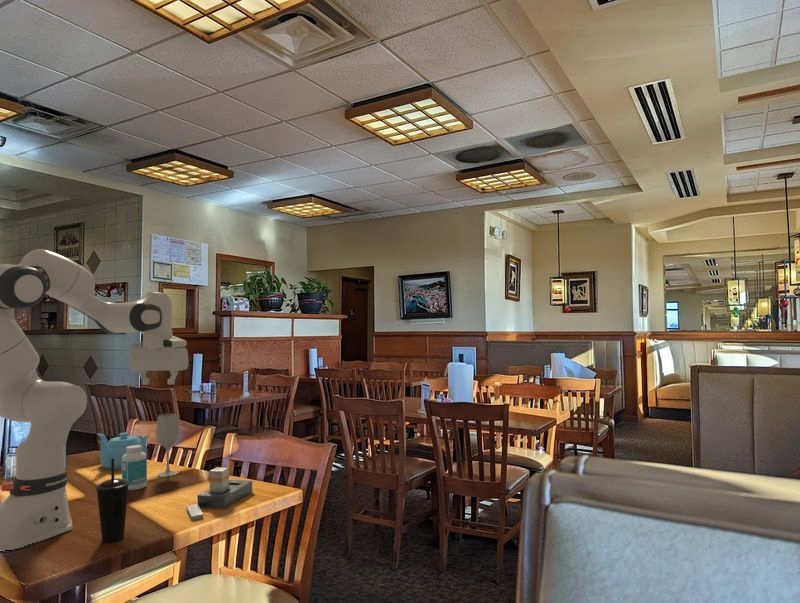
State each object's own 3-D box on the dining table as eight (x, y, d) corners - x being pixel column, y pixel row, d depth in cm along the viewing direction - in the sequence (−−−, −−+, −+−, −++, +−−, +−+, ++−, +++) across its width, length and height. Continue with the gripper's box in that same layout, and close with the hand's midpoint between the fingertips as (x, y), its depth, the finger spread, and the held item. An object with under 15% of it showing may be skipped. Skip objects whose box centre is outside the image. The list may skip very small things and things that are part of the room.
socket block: (225, 509, 160) (225, 496, 160) (197, 507, 162) (197, 495, 162) (252, 491, 176) (252, 480, 176) (226, 490, 178) (226, 479, 178)
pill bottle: (151, 484, 187) (151, 443, 187) (138, 491, 179) (138, 449, 180) (130, 484, 187) (130, 443, 188) (117, 491, 180) (116, 449, 180)
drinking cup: (135, 532, 144) (134, 454, 144) (121, 544, 136) (121, 462, 137) (105, 533, 143) (104, 455, 144) (89, 545, 136) (89, 463, 136)
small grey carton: (222, 505, 163) (221, 471, 164) (209, 505, 164) (209, 470, 164) (229, 501, 167) (229, 467, 168) (217, 500, 168) (216, 467, 168)
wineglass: (157, 472, 201) (157, 414, 202) (180, 470, 203) (179, 412, 204) (155, 478, 194) (154, 417, 195) (178, 475, 196) (177, 416, 197)
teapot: (97, 474, 201) (97, 440, 201) (97, 463, 217) (97, 431, 217) (149, 467, 209) (149, 434, 209) (145, 457, 225) (145, 426, 226)
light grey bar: (203, 520, 153) (203, 514, 153) (191, 522, 152) (191, 516, 152) (197, 509, 162) (197, 503, 162) (186, 511, 160) (186, 505, 160)
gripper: (123, 342, 181) (124, 385, 180) (179, 341, 176) (179, 385, 176) (137, 341, 187) (137, 383, 187) (191, 341, 182) (191, 383, 182)
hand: (158, 384), depth 181 cm, fingers open, 8 cm apart
